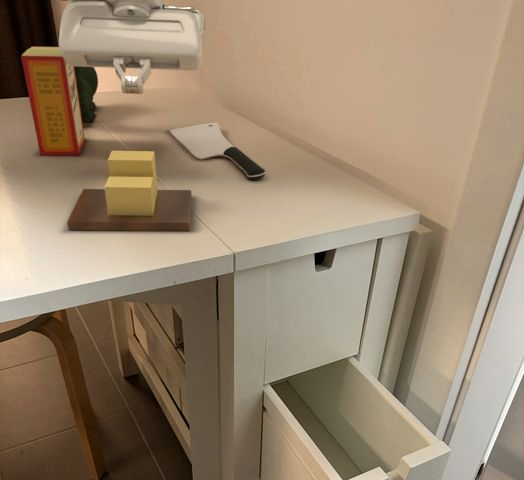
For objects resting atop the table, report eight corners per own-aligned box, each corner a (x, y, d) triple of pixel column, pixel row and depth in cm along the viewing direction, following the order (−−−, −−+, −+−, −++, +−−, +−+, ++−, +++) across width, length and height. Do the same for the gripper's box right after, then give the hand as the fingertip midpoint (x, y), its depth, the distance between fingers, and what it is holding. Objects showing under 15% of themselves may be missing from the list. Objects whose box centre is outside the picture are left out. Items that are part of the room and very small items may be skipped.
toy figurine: (104, 139, 112) (100, 98, 130) (90, 34, 99) (89, 4, 117) (55, 140, 110) (58, 98, 128) (35, 33, 97) (42, 3, 115)
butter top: (112, 204, 78) (108, 215, 75) (108, 176, 76) (104, 186, 73) (155, 204, 79) (152, 215, 76) (153, 176, 76) (150, 187, 73)
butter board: (68, 230, 74) (66, 221, 73) (84, 196, 83) (83, 188, 82) (189, 230, 75) (189, 222, 74) (191, 197, 85) (191, 190, 84)
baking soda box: (49, 139, 105) (31, 44, 95) (84, 139, 106) (70, 45, 96) (40, 155, 97) (20, 53, 88) (78, 155, 98) (62, 54, 89)
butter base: (112, 201, 79) (107, 159, 75) (116, 191, 82) (111, 150, 79) (155, 202, 79) (152, 160, 76) (157, 192, 83) (154, 151, 79)
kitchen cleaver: (168, 126, 112) (215, 117, 114) (170, 135, 113) (216, 126, 115) (216, 179, 89) (273, 166, 91) (217, 189, 90) (274, 176, 92)
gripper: (204, 23, 85) (205, 106, 83) (69, 17, 84) (66, 102, 81) (204, -9, 79) (204, 79, 77) (57, -16, 77) (53, 74, 75)
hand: (132, 91), depth 79 cm, fingers closed
